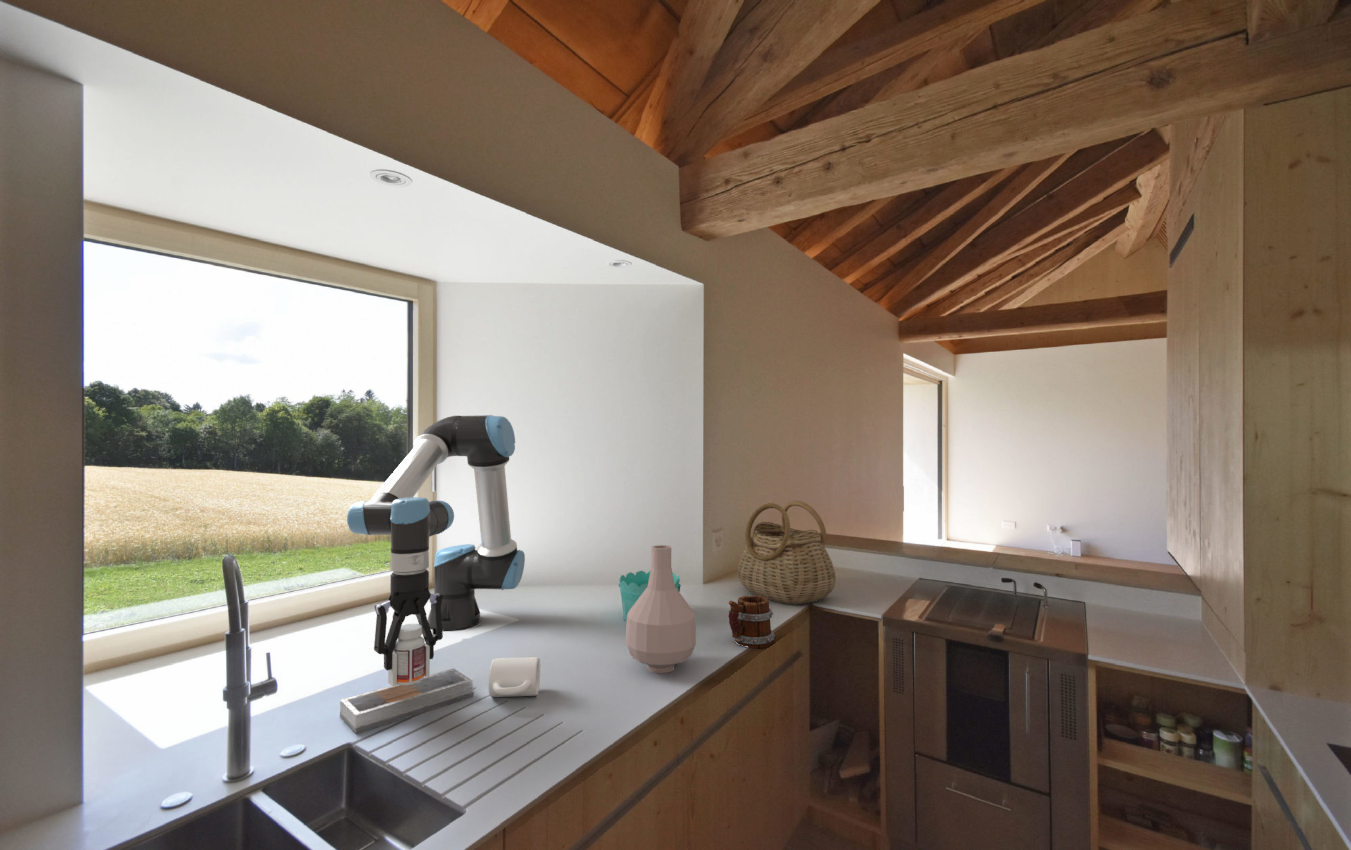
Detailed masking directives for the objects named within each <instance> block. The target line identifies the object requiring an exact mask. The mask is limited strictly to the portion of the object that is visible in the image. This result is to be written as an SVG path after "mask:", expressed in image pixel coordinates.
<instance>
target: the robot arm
mask: <svg viewBox="0 0 1351 850" xmlns="http://www.w3.org/2000/svg"><path fill="white" fill-rule="evenodd" d="M512 425H513V424H511V422H510V421H509V419H508V418H507V417H505V416H502V415H501V416H500V415H492V414H490V415H487V414H486V415H451V416H447V417H445V418H442V419H440V420H437V421H435V422H434V423H433V424H431V425H429V426H428V427H427V428H425V429H424V430H423V431H422V432H421V433H420V434H419V435H418V436H417V437H416V438H415V439H414V441H413V445H412V447H413V448H412V449H411V450H410V452H409V453H408V454H407V455H406V456H405V458H404V459H403V460H402V461H401V462H400V464H398V466H397V467H396V468H395V469H394V471H393V473H391V474H390V476H389V477H388V478H387V479H386V480H385V482H384V483H383V484H382V485H381V486H380V488H379V489H378V490H377V491H376V493H374V495H373V496H372V497H371V498H370V500H369V501H366V500H363V501H357V502H355V503H353V504H352V505H351V506H350V507H349V509H348V511H347V516H346V523H347V525H348V529H349V531H350V532H351V533H353V534H356V535H367V536H379V535H380V536H390V545H391V546H390V571H391V572H392V573H391V574H390V590H389V591H390V595H389V597H388V600H387V601H385V602H382V603H381V604H380V603H376V604H374V610H375V614H376V618H375V619H376V622H375V632H374V642H373V643H374V645H373V646H374V647H373V651H374V652H376V653H377V654H378V655H383V668H384V669H385V670H386V671H387V672H388V673H387V674H388V675H387V676H388V677H387V682H388V684H389V686H397V654H396V653H394V652H393V651H394V648H395V645H396V642H397V639H398V635H399V632H400V629H401V626H402V625H403V623H404V622H405V620H406V617H409V616H411V615H415V616H416V619H417V622H418V624H420V625H422V637H423V638H424V641H425V654H424V655H425V666H424V670H425V672H424V673H425V674H424V676H425V677H429V676H430V675H431V673H430V666H431V665H430V663H431V662H430V661H431V660H433V659H434V655H435V653H434V652H435V651H434V648H435V647H434V646H435V645H436V644H437V642H438V641H441V640H442V639H443V637H444V635H443V631H455V630H463V629H467V628H470V627H474V626H476V625H478V623H480V622H481V612H480V607H479V605H478V602H477V599H476V594H475V593H476V592H475V590H501V591H504V590H514V589H516V588H517V587H518V586H519V584H520V583H521V580H522V577H523V574H524V569H525V562H526V561H525V560H526V557H525V552H524V551H523V550H521V549H518V543H517V542H516V541H515V540H513V539H512V533H511V523H510V522H511V521H510V511H509V502H508V500H509V499H508V488H507V479H506V465H507V464H508V463H509V461H510V457H511V456H513V455H514V453H515V449H516V446H515V444H516V437H515V431H514V428H513V426H512ZM449 457H467V465H468V466H469V467H471V468H472V469H473V472H474V481H475V492H476V493H475V494H476V502H477V510H478V521H479V532H480V539H481V540H480V541H481V543H480V544H479V545H478V546H477V548H476V546H475V544H473V543H472V544H471V543H467V544H466V543H465V544H459V545H453V546H449V547H445V548H442V549H440V550H438V551H437V552H435V554H434V564H433V570H434V571H433V572H434V573H433V578H434V579H433V580H434V581H433V583H434V584H433V585H434V586H433V588H434V589H433V591H434V593H431V591H430V589H429V586H430V573H429V572H430V571H428V568H429V567H430V564H429V563H430V538H431V537H432V536H436V535H439V534H442V533H443V532H444V533H445V531H446V530H448V529H449V528H450V527H452V524H453V523H454V520H455V513H454V510H453V507H452V506H451V505H450V504H449V503H448V502H447V501H443V500H431V501H429V500H428V499H427V498H426V497H417V496H416V494H417V493H418V491H419V490H421V487H422V486H423V485H424V483H425V482H426V481H427V479H428V478H429V477H430V475H431V474H432V472H433V471H434V470H435V469H436V467H437V465H440V464H442V463H444V462H445V461H446V460H447V459H448V458H449ZM428 602H429V603H430V610H429V614H428V617H427V612H426V609H425V607H426V605H427V603H428ZM390 607H391V609H393V610H394V611H393V614H392V621H391V624H390V627H389V630H388V633H387V621H388V615H387V614H388V613H389V611H390V610H389V609H390ZM386 633H387V636H386Z"/></svg>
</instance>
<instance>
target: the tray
mask: <svg viewBox="0 0 1351 850" xmlns="http://www.w3.org/2000/svg"><path fill="white" fill-rule="evenodd" d="M473 683H474V682H473V679H472V678H470V677H468V676H466V675H465V674H463V673H462V672H460V671H459V670H457V669H456V668H454V667H453V668H450V669H446V670H442V671H439V672H436V673H432V674H430V676H429V677H425V676H424V678H423V679H422V680H421V681H420V682H418V683H415V684H412V685H397V686H392V685H389V686H386V687H382V688H378V689H375V690H371V691H368V692H364V693H361V694H357V695H354V696H353V695H352V696H350V697H345V698H342V699H340V703H339V704H340V708H339V718H340V719H342V721H343V722H344V723H345V724H346V725H347V726H348V727H349V728H350V729H351V730H352V732H353V733H354V734H355V735H358V734H360V733H364V732H366V731H369V730H373V729H375V728H379V727H382V726H385V725H388V724H391V723H395V722H397V721H400V720H401V721H402V720H403V719H407V718H410V717H414V716H417V715H420V714H423V713H425V712H429V711H432V710H435V709H438V708H442V707H444V706H448V705H451V704H455V703H457V702H458V703H459V702H460V701H464V700H467V699H470V698H473V697H474V692H473V688H474V687H473Z"/></svg>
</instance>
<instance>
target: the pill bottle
mask: <svg viewBox="0 0 1351 850" xmlns="http://www.w3.org/2000/svg"><path fill="white" fill-rule="evenodd" d="M425 644H426V642H425V640H424V637H423V634H422V625H420V624H419V623H407V624H402V626H401V629H400V632H399V635H398V639H397V642H396V645H395V648H394V651H393V652H394V653H396V654H397V685H412V684H415V683H418V682H420V681H421V680H422V679H423V678H424V674H425V673H424V672H425V670H424V666H425V655H424V654H425Z"/></svg>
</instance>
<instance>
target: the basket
mask: <svg viewBox="0 0 1351 850" xmlns="http://www.w3.org/2000/svg"><path fill="white" fill-rule="evenodd" d="M791 507H800V508H801V509H804V510H805V511H807V512H808V513H809V514H810V515H811V516H812V517H813V519H815V521H816V522H817V525H818V527H819V531H820V534H819V531H818V530H815V529H808V530H803V531H802V530H800V529H799V530H798V529H794V528H792V527H791V523H790V517H789V515H788V513H787V512H788V510H789V509H790V508H791ZM768 509H775V510H777V511H779V513H781V524H777V523H774V522H767V521H762V522H758V523H757V524H756V525H755V526H754V528H753V525H754V523H755V520H756V519H757V518H758V516H759V515H760V514H762V512H764V511H765V510H768ZM752 528H753V530H752ZM744 533H745V537H744V538H745V539H744V540H745V547H744V550H743V551H742V554H741V556H740V558H739V560H738V564H737V576H738V580H739V582H740V584H741V585H742V586H743V587H744V588H745V589H746V590H747V591H749V592H750V593H752V594H753V595H754V596H761V597H765V598H767V599H768V600H769V601H772V600H773V601H772V602H776V601H777V602H776V603H780V602H781V604H784V603H786V605H792V604H796V605H802V604H803V603H805V604H808V602H810V603H813V601H814V602H817V601H819V600H821V599H824V598H825V597H827V596H829V595H830V594H831V593H832V591H833V590H834V588H835V586H836V581H837V580H836V579H837V578H836V577H837V576H836V570H835V567H834V563H833V561H832V559H831V557H830V555H829V553H828V550H827V549H826V547H825V545H826V541H827V531H826V527H825V524H824V522H823V519H822V518H821V516H820V515H819V513H818V512H817V511H816V510H815V509H814V508H813V507H812V506H811V505H809V504H807V503H805V502H804V501H801V500H792V501H789V502H788V503H786V504H785V505H784V507H783V506H781V505H779V504H776V503H772V502H771V503H770V502H769V503H768V502H767V503H764V504H762V505H760V506H759V507H757V508H756V509H755V510H754V512H753V513H752V514H751V516H750V517H749V519H748V521H747V524H746V528H745V532H744ZM816 600H817V601H816ZM803 605H804V604H803Z"/></svg>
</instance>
